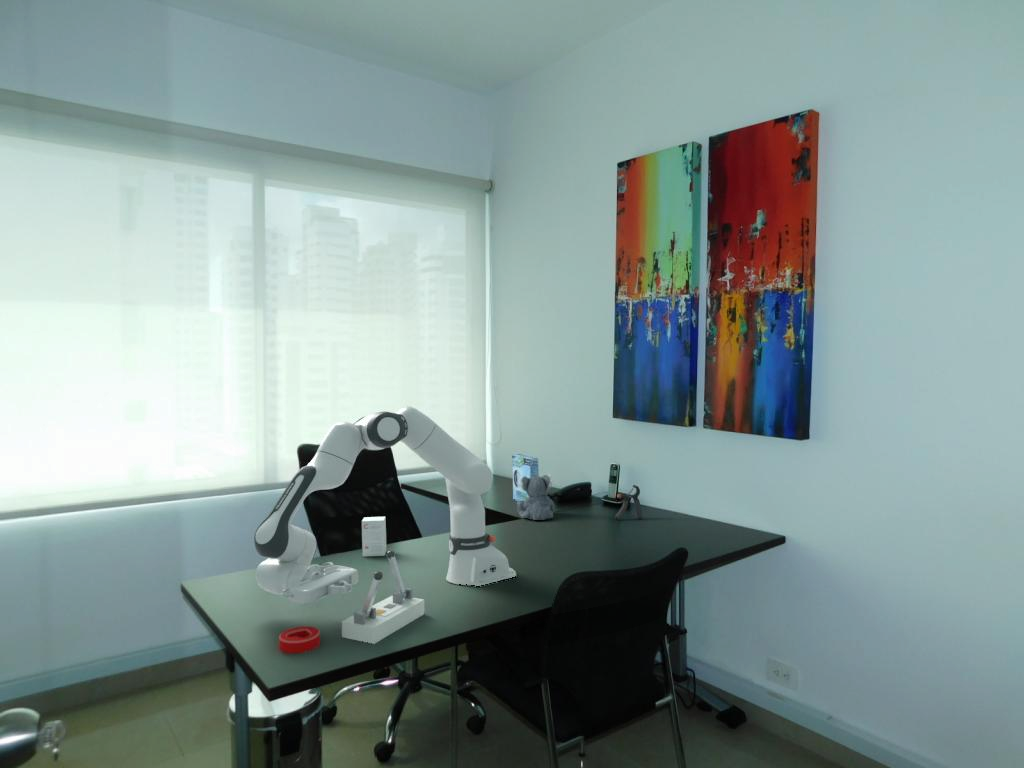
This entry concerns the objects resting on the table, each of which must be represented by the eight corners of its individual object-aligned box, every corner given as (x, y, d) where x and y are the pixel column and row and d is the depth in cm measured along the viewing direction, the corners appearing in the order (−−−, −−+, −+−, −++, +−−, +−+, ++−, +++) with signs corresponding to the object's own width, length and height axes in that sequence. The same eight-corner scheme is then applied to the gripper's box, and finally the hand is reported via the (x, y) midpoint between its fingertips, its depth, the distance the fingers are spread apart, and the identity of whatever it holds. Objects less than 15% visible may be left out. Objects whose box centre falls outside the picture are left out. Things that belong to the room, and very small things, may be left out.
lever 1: (364, 613, 171) (380, 568, 169) (371, 618, 170) (386, 572, 168) (356, 617, 169) (372, 571, 166) (363, 622, 168) (379, 576, 165)
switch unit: (394, 608, 189) (394, 585, 189) (424, 614, 184) (424, 590, 184) (342, 637, 169) (341, 611, 169) (373, 644, 165) (373, 617, 164)
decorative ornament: (320, 636, 170) (320, 624, 170) (319, 652, 161) (319, 639, 161) (281, 640, 168) (280, 628, 168) (277, 656, 159) (276, 643, 159)
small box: (386, 551, 248) (386, 516, 247) (385, 556, 241) (384, 520, 241) (364, 552, 247) (363, 516, 246) (362, 557, 240) (361, 520, 240)
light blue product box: (539, 505, 326) (539, 458, 326) (530, 506, 324) (529, 459, 324) (521, 498, 344) (520, 453, 343) (512, 499, 342) (511, 454, 341)
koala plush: (553, 512, 309) (553, 470, 309) (559, 521, 292) (558, 477, 291) (516, 513, 308) (515, 471, 308) (519, 522, 290) (518, 477, 290)
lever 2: (403, 597, 185) (389, 550, 187) (410, 595, 184) (395, 548, 186) (397, 601, 183) (383, 553, 184) (403, 599, 182) (389, 551, 183)
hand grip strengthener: (614, 519, 294) (613, 485, 294) (641, 518, 297) (640, 484, 296) (615, 520, 292) (615, 486, 292) (643, 519, 294) (642, 485, 294)
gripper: (277, 581, 168) (320, 589, 162) (333, 560, 186) (373, 566, 180) (278, 606, 168) (320, 615, 162) (333, 582, 186) (373, 589, 180)
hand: (348, 589), depth 171 cm, fingers closed
